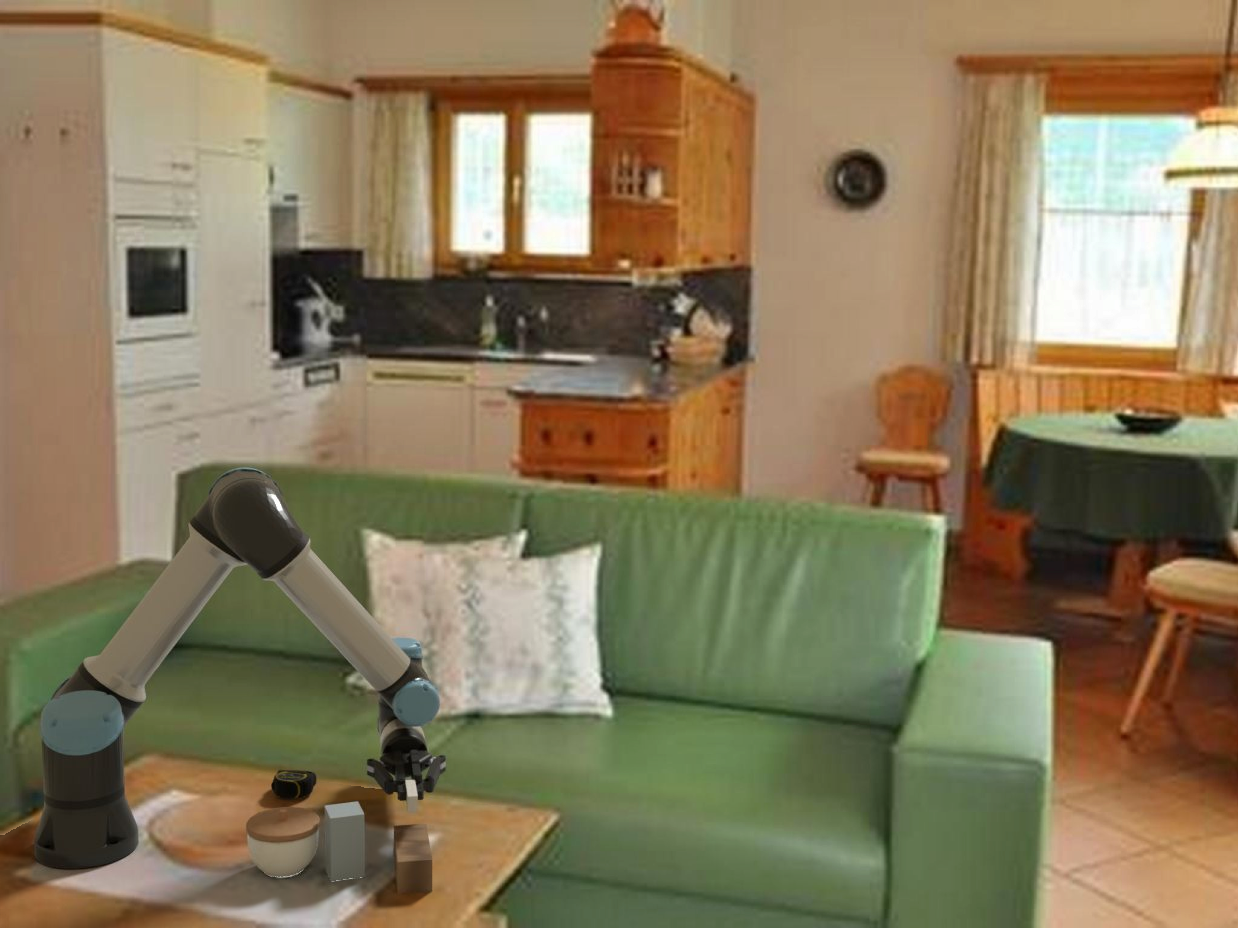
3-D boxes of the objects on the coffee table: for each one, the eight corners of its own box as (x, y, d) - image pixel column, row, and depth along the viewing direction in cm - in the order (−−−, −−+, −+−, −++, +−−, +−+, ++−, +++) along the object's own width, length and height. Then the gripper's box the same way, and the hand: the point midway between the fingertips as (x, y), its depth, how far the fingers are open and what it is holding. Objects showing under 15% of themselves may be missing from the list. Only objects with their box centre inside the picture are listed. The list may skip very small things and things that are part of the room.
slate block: (331, 882, 208) (330, 818, 207) (325, 867, 213) (324, 805, 211) (364, 877, 210) (364, 813, 209) (358, 863, 215) (357, 801, 213)
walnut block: (393, 855, 218) (397, 894, 206) (393, 824, 217) (397, 861, 205) (426, 853, 219) (432, 891, 206) (426, 822, 218) (432, 859, 206)
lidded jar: (302, 889, 206) (301, 828, 205) (234, 880, 208) (233, 820, 207) (331, 858, 216) (330, 800, 215) (266, 850, 219) (265, 793, 217)
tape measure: (318, 788, 243) (318, 767, 243) (307, 804, 237) (307, 783, 236) (278, 786, 244) (278, 766, 243) (267, 802, 237) (266, 781, 236)
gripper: (443, 767, 237) (456, 825, 214) (364, 771, 235) (369, 830, 212) (443, 724, 236) (456, 778, 213) (364, 728, 233) (368, 783, 211)
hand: (412, 804), depth 213 cm, fingers closed
